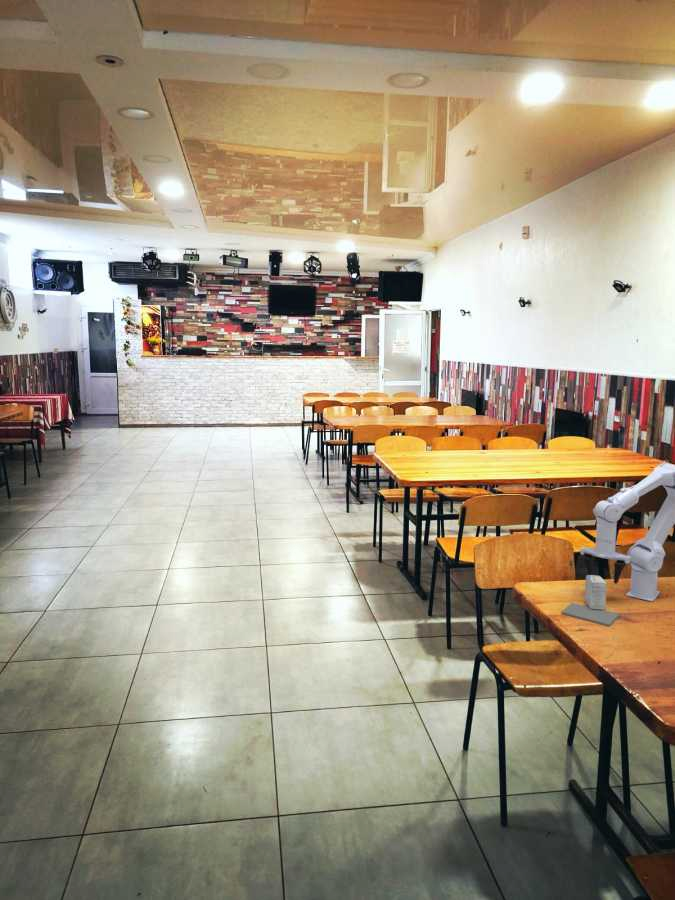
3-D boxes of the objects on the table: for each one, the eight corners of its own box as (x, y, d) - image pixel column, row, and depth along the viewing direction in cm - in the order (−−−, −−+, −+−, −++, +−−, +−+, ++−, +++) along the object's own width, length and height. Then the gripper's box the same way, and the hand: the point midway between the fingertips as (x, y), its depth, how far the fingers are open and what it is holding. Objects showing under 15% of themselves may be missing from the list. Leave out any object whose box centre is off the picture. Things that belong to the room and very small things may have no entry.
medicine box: (605, 610, 181) (607, 583, 180) (589, 609, 182) (591, 581, 181) (598, 602, 189) (600, 575, 188) (583, 600, 190) (585, 574, 189)
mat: (571, 604, 188) (571, 602, 188) (618, 616, 179) (619, 614, 178) (561, 613, 181) (561, 611, 181) (609, 626, 172) (609, 624, 172)
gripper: (578, 537, 190) (576, 578, 192) (626, 546, 181) (623, 589, 183) (585, 532, 196) (583, 572, 198) (633, 540, 186) (630, 582, 188)
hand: (603, 579), depth 191 cm, fingers open, 7 cm apart
